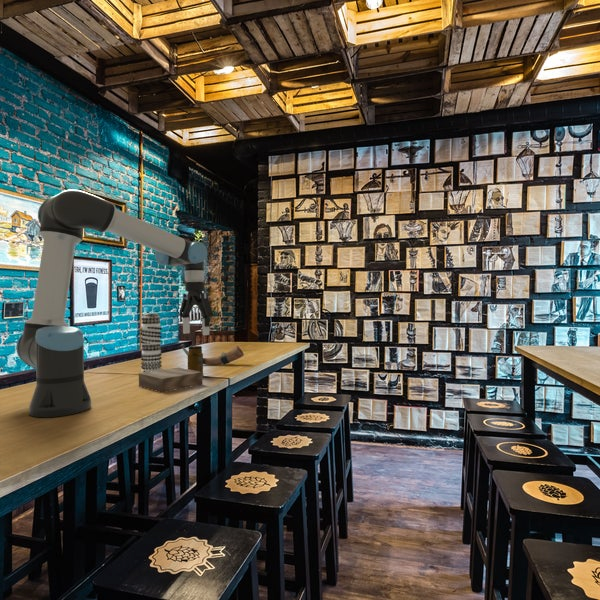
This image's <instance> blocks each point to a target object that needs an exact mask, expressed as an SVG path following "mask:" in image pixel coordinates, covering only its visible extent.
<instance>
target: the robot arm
mask: <svg viewBox="0 0 600 600" xmlns="http://www.w3.org/2000/svg"><path fill="white" fill-rule="evenodd" d="M37 219H38V222H39V224H40V226H39V236H40V237H41V238H42V239H43V243H42V251H41V257H40V261H39V268H38V269H39V270H38V274H37V281H36V282H37V283H36V288H35V294H34V300H33V307H32V314H31V317H30V318H29V319H27V320H26V321H24V325H23V331H22V334H21V335H20V336H19V338H18V340H17V342H16V349H15V351H16V353H17V356H18V359H20V361H22V362H23V363H24V364H25V365H27V366H28V367H31V368H33V369H35V371H36V373H35V374H36V375H35V377H36V385H35V388H34V391H33V395H32V398H31V400H30V403H29V406H28V407H29V408H28V409H29V410H28V411H29V414H30V415H31V417H33V418H56V417H64V416H69V415H74V414H78V413H82V412H84V411H87V410H89V409H91V408H92V399H91V398H92V397H91V396H90V393H89V389H88V387H87V385H86V383H85V377H84V376H85V375H84V374H85V370H84V369H85V366H84V365H85V360H84V358H85V357H84V354H85V352H84V351H85V348H84V344H85V338H84V333H83V331H82V329H80V328H78V327H74V326H69V324H68V323H67V322H66V321H65V316H66V310H67V303H68V296H69V290H70V284H71V283H70V282H71V276H72V271H73V270H72V269H73V264H74V257H75V250H76V245H78V244H79V243H81V242H82V240H83V232H84V229H87V230H94V231H96V232H100V233H101V234H102V233H106V232H107V233H110V234H113V235H115V236H118V237H121V238H123V239H125V240H128V241H131V242H134V243H136V244H139V245H141V246H144V247H146V248H149V249H151V250H153V251H155V253H154V254H155V255H154V256H155V261H156V263H157V264H158V265H160V266H165V267H168V266H169V267H184V281H185V283H184V285H185V287H184V289H185V292H187V293H183V294H182V302H181V305H180V308H179V313H178V316H179V317H181V318H182V333H183V335H185V334H186V335H187V334H190V333H191V327H190V326H191V323H190V322H191V321H190V314H191V311H192V310H193V307H194V306H197V308H198V309H199V311H200V313H201V315H202V319H201V322H202V323H201V325H202V336H210V326H211V325H210V324H211V323H210V321H211V320H210V319H211V318H212V317H214V313H213V309H212V307H211V304H210V300H209V295H208V293H206V292H204V291H205V289H206V288H205V287H206V286H205V282H204V281H205V260H206V258H207V255H208V251H207V247H206V246H205V244H203V243H202V242H201V241H189V240H187V239H185V238H183V237H180V236H178V235H176V234H174V233H171V232H169V231H166V230H165V229H162V228H161V227H158V226H156V225H155V224H154V225H153V224H151V223H149V222H147V221H144V220H142V219H140V218H137V217H136V216H133V215H131V214H129V213H127V212H124V211H122V210H119V209H117V207H116V205H115V204H114V203H112V202H110V201H108V200H105V199H103V198H101V197H99V196H96V195H94V194H91V193H90V192H89V193H88V192H86V191H82V190H80V189H67V190H63V191H61V192H60V193H58V194H55V195H54V196H53V195H52V196H50V197H48V198H45V200H44V201H43V202H42V203H41V204H40V206H39V208H38V210H37ZM29 414H28V415H29ZM30 415H29V416H30Z"/></svg>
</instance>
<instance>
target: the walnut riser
mask: <svg viewBox="0 0 600 600" xmlns="http://www.w3.org/2000/svg"><path fill="white" fill-rule="evenodd" d="M203 375H204V374H203ZM203 375H202V372H200V371H194V370H189V369H188V368H182V367H174V368H165V369H162V370H158V371H152V372H140V373H138V387H140V386H142V387H141V388H144V387H145V389H147V388H149V389H148V390H151V389H153V390H152V391H155V390H157V391H156V392H158V391H160V392H159V393H162V392H163V393H166V392H165V391H168V392H171V391H170V390H173V391H175V390H174V389H178V390H181V389H180V388H183V389H186V388H185V387H188V388H191V387H190V386H193V387H197V386H196V385H198V386H203V385H204V383H203V382H204V381H203V380H204V379H203V378H204V377H203ZM202 384H203V385H202Z"/></svg>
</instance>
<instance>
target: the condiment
mask: <svg viewBox="0 0 600 600" xmlns="http://www.w3.org/2000/svg"><path fill="white" fill-rule="evenodd" d="M187 351H188V352H189V353H188V356H187V369H189V370H194V371H200V372H202V375H204V364H203V358H204V353H203V347H202V346H201V345H190V346H188V349H187Z"/></svg>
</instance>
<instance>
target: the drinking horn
mask: <svg viewBox="0 0 600 600" xmlns="http://www.w3.org/2000/svg"><path fill="white" fill-rule="evenodd" d="M179 347H180V348H181V349H182V351H183V353H184V354H186V356H187V357H188V353H189V351H188V349H186V347H185V344H184V343H183V344H182V343H181V345H179ZM244 356H245V354H244V352H243V350H242V349H241V348H240V347H239V345H236V346H235V347H233V348H232V349H230V350H229V351H228V352H224V351H222V352H221V354H220V355H218V356H214V357H207V358H206V357H203V365H208V366H217V365H227V364H230V363H231V362H234V361H237V360H239V359H240V358H242V357H244Z"/></svg>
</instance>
